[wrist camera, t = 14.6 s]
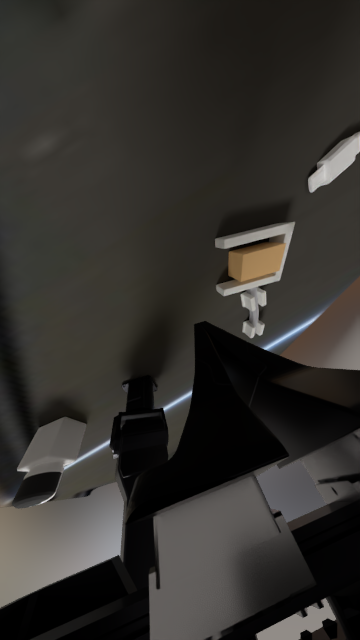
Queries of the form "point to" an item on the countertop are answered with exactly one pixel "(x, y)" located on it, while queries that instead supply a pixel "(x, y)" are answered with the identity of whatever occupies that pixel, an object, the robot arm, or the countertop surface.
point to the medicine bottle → (48, 460)
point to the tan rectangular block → (255, 260)
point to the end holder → (274, 231)
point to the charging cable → (335, 162)
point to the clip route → (253, 310)
